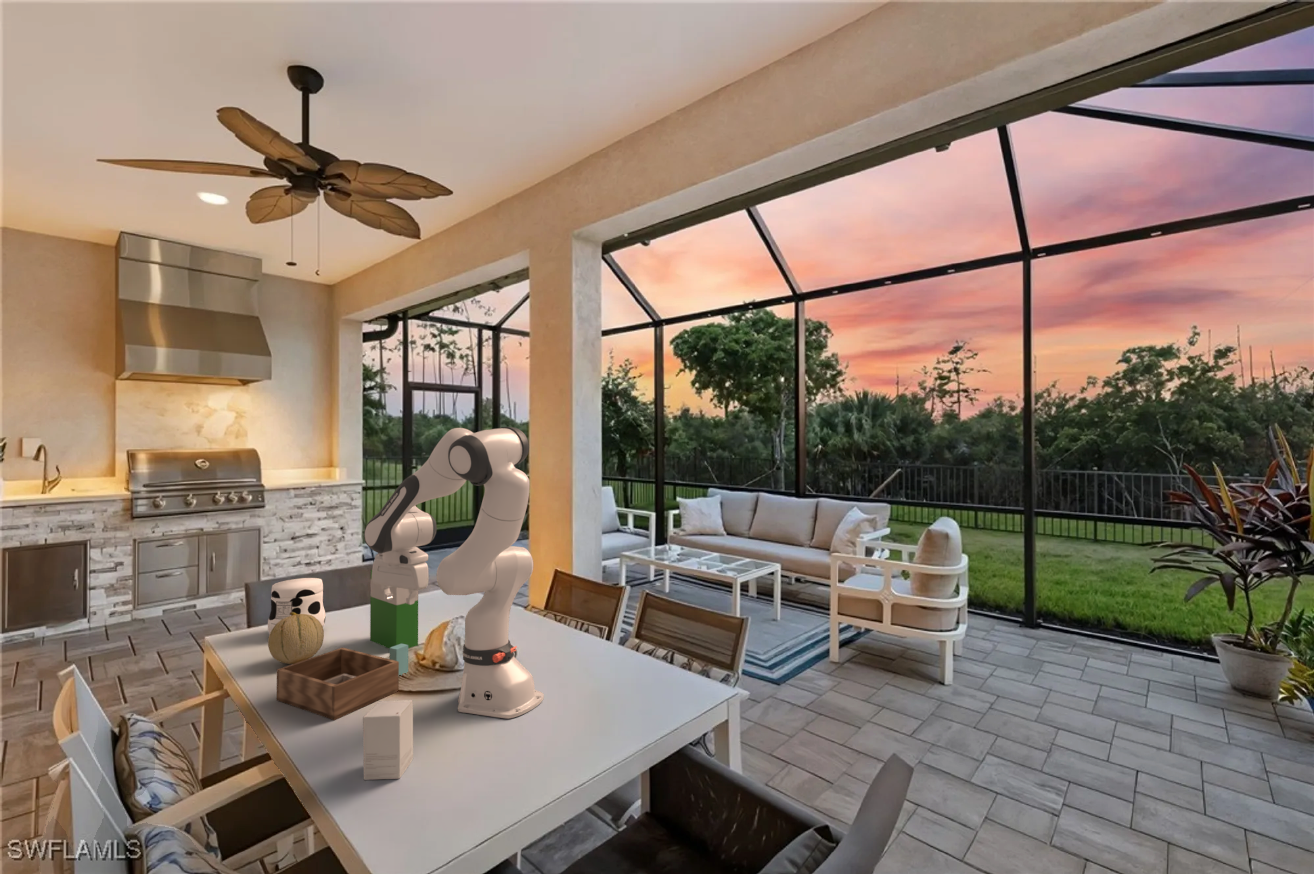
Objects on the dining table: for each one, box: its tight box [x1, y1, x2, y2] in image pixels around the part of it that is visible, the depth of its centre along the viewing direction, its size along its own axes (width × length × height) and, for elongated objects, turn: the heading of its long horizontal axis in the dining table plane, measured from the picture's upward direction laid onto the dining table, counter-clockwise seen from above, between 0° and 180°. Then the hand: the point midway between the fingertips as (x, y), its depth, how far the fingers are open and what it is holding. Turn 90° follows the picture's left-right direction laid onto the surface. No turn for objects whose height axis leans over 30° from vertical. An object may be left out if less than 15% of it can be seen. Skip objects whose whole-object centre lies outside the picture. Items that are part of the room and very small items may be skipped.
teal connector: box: [388, 643, 409, 676], centre depth 164 cm, size 3×4×8 cm
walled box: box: [276, 647, 400, 721], centre depth 149 cm, size 24×18×8 cm
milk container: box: [267, 577, 327, 634], centre depth 199 cm, size 17×17×18 cm
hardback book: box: [369, 569, 419, 650], centre depth 190 cm, size 18×7×24 cm, turn 52°
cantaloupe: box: [267, 612, 325, 665], centre depth 173 cm, size 15×15×15 cm
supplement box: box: [362, 699, 414, 781], centre depth 115 cm, size 7×7×13 cm
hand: (399, 601), depth 164 cm, fingers open, 8 cm apart
